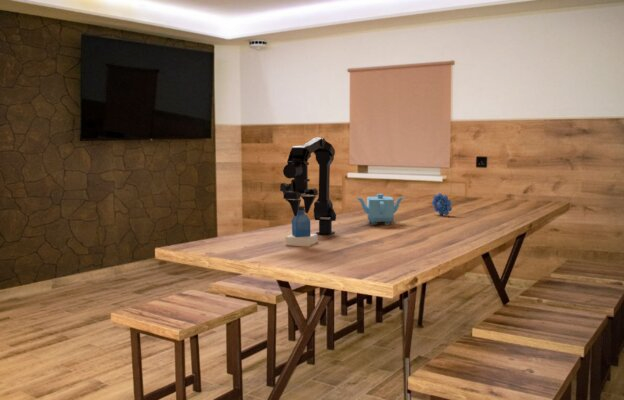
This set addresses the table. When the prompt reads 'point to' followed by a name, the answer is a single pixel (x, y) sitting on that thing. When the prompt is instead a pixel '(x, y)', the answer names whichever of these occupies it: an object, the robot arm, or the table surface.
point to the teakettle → (380, 208)
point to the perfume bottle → (301, 224)
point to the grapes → (441, 204)
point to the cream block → (301, 240)
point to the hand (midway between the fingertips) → (301, 214)
